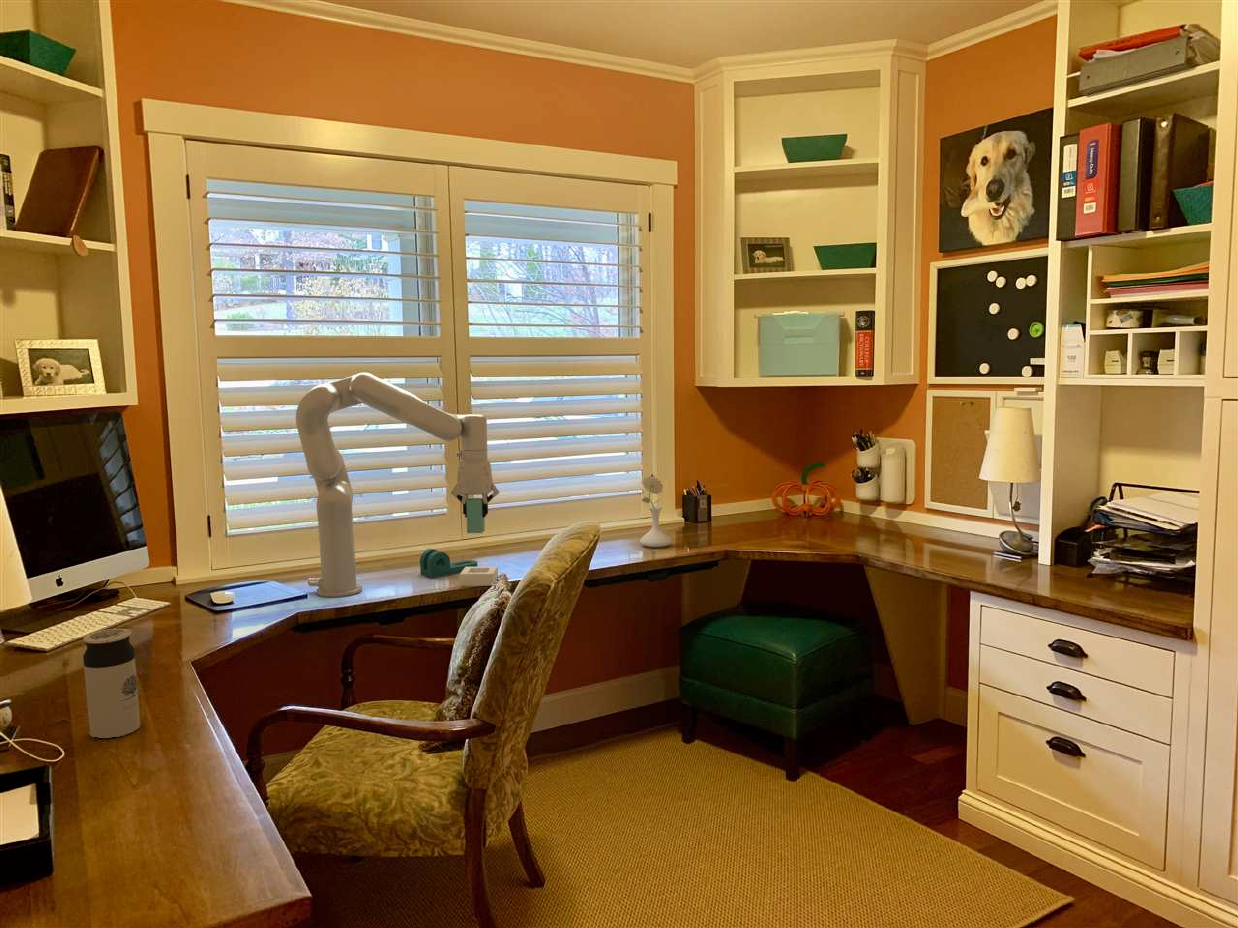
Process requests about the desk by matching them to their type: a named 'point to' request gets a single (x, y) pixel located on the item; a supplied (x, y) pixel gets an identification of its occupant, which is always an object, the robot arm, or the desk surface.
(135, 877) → the desk surface
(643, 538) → the flower in vase
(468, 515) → the teal peg
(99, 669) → the travel mug
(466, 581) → the pocket block
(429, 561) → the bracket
